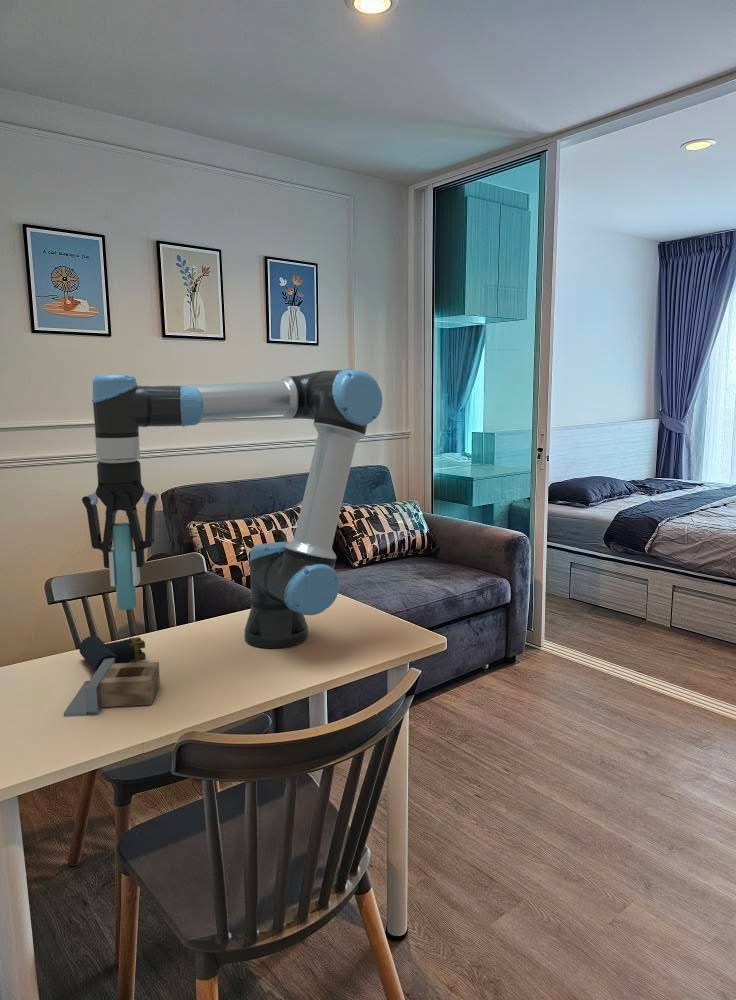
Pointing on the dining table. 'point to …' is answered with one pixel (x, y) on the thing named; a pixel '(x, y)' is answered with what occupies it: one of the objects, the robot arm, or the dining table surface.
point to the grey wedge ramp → (89, 693)
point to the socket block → (130, 684)
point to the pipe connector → (111, 651)
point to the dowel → (123, 566)
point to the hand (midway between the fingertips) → (125, 583)
